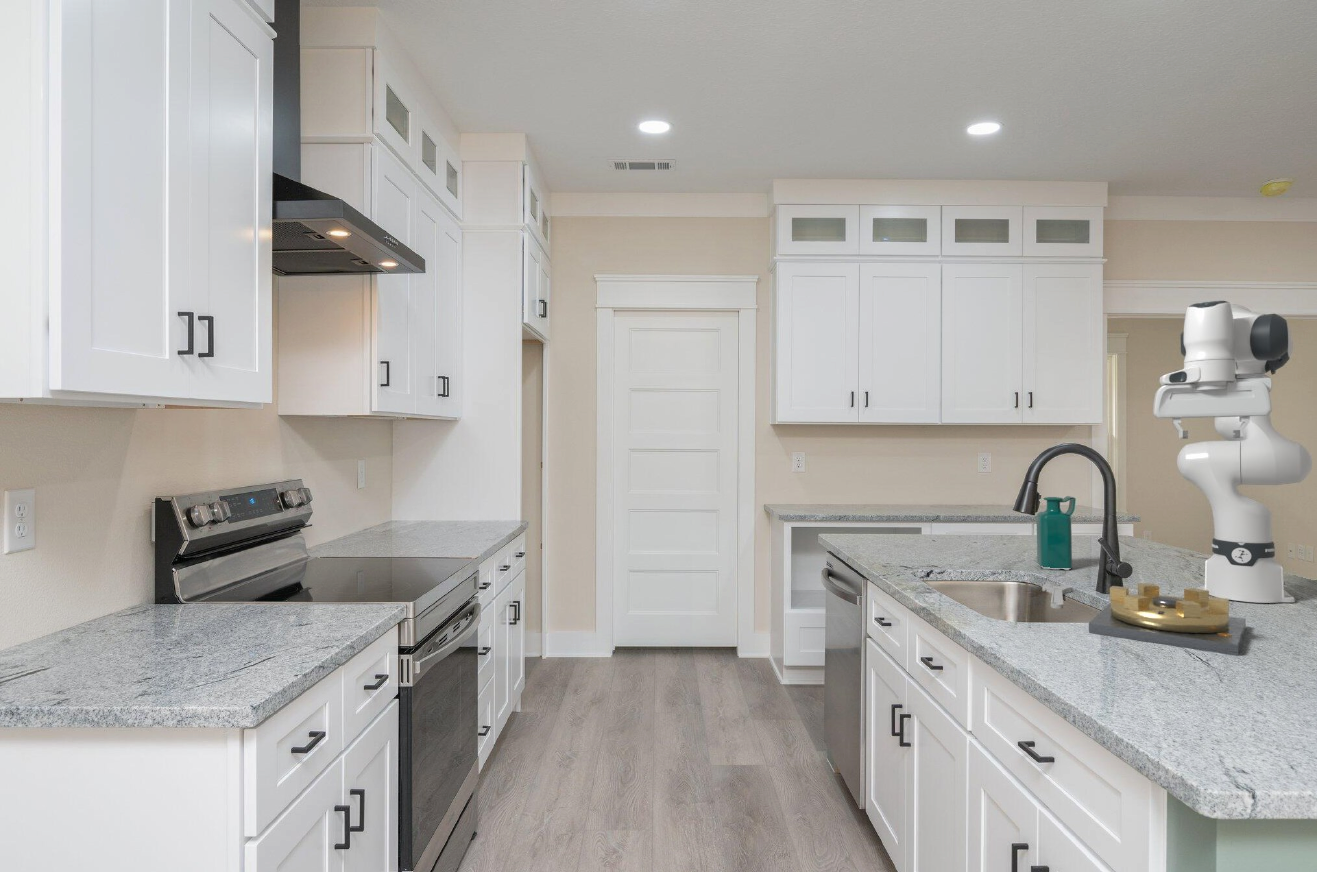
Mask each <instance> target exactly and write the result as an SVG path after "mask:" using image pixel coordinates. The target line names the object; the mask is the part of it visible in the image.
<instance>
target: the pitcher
mask: <svg viewBox="0 0 1317 872" xmlns="http://www.w3.org/2000/svg"><path fill="white" fill-rule="evenodd" d="M1042 499H1043V500H1044V501H1046V509H1045V510H1043V511H1040V512H1037V514H1036V561H1037V562H1036V563H1038V564H1039V565H1040V566H1043V567H1050V568H1072V569H1073V548H1072V546H1073V544H1072V543H1073V541H1072V518H1071V517H1072V515H1073V514H1074V512H1075V509H1076V500H1077V499H1076V498H1075V497H1074V496H1071V495H1070V496H1069V495H1067V496H1065V497H1064V498H1063V497H1059V496H1047V497H1046V496H1045V497H1043V498H1042ZM1068 501H1069V502H1068ZM1067 502H1068V509H1067V511H1066V512H1064V511H1062V510H1061V509H1062V508H1061V503H1067ZM1040 566H1039V567H1040Z"/></svg>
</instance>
